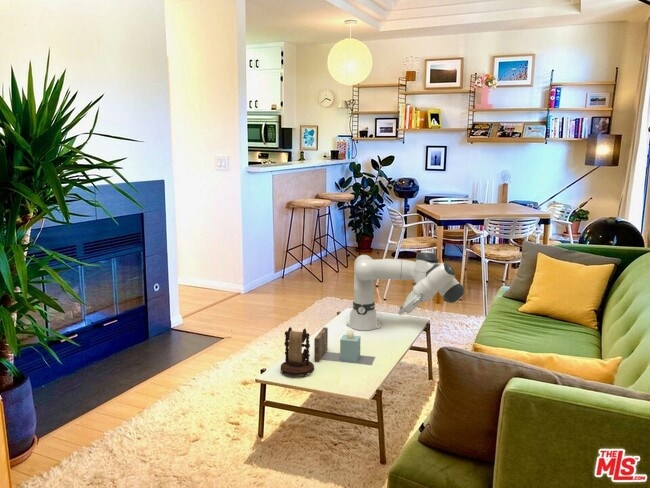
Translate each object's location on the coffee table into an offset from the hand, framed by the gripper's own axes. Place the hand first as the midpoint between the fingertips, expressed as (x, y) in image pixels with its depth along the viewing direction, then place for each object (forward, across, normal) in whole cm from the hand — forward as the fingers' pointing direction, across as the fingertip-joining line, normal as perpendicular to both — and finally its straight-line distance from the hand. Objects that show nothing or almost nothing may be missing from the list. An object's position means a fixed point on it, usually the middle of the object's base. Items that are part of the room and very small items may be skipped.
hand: (399, 311), depth 240 cm
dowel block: (+33, 0, -2) cm, 33 cm away
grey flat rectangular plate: (+34, 0, -2) cm, 35 cm away
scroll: (+48, -18, +12) cm, 53 cm away
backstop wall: (+44, 0, +8) cm, 44 cm away
